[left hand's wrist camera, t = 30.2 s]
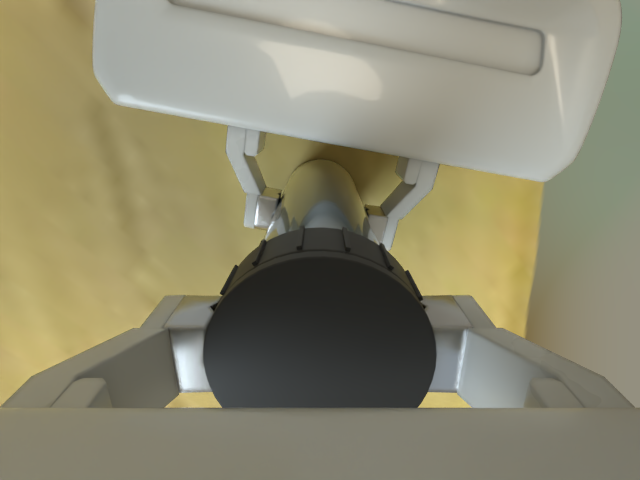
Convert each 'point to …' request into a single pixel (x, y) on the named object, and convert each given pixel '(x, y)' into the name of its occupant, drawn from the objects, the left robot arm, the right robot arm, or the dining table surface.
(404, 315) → the lid
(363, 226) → the jar
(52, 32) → the dining table surface
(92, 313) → the dining table surface
